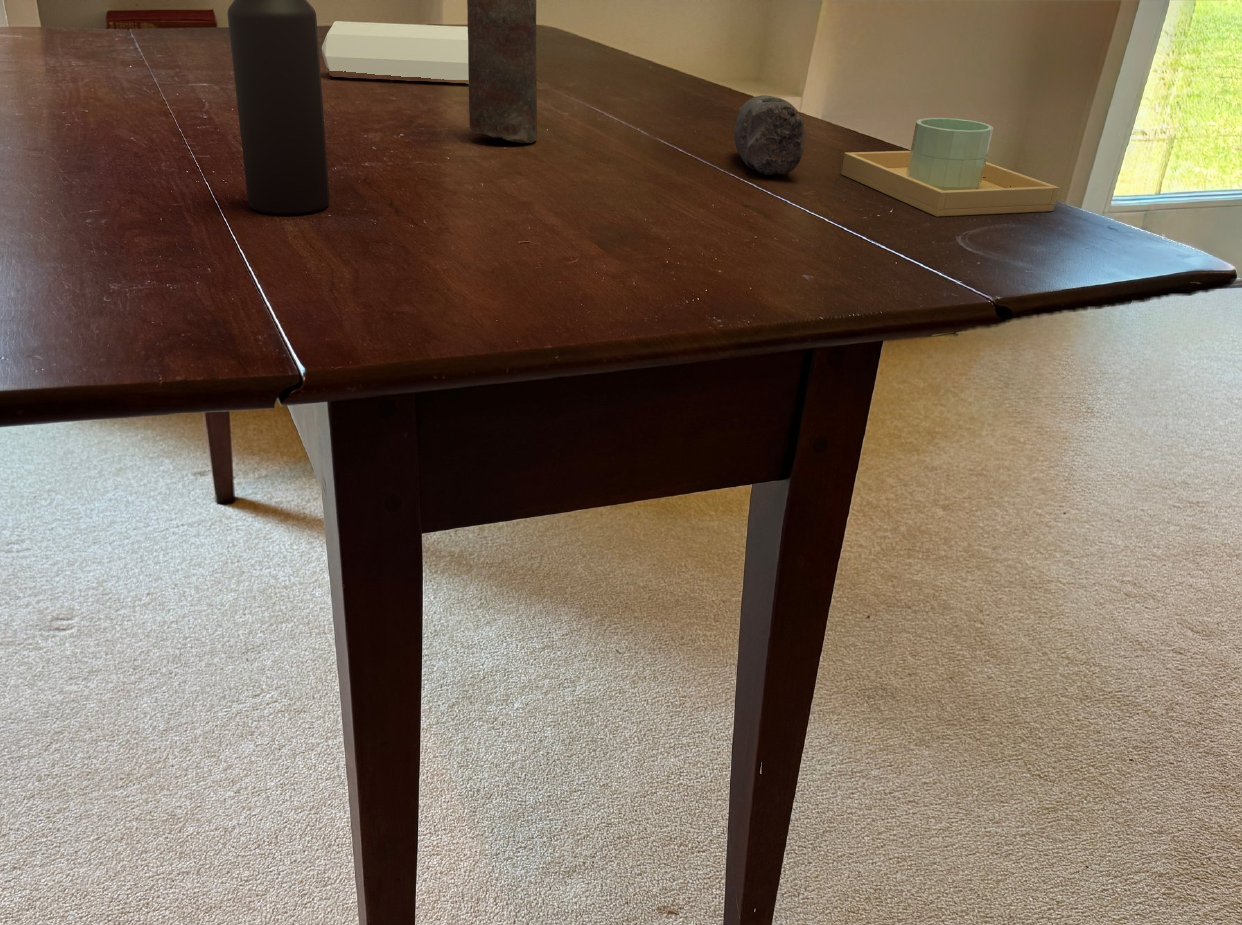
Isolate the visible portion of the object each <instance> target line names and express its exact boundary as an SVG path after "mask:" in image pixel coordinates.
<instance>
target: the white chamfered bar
mask: <svg viewBox="0 0 1242 925" xmlns="http://www.w3.org/2000/svg"><path fill="white" fill-rule="evenodd" d="M321 54H322V58H323V61H324V65H325V67H327V68H328V69H329V71H343V72H344V71H346V72H356V73H367V74H375V75H391V76H401V77H421V78H431V79H441V80H442V79H444V80H469V76H468V26H457V25H456V26H455V25H435V24H412V23H408V24H407V23H389V22H368V21H367V22H366V21H365V22H363V21H344V20H343V21H342V20H341V21H339V20H335V21H334V22H333V23H332V26H331V27H330V28H329V30H328V32H327V33H326V36H325V38H324V41H323V43H322V46H321ZM327 68H326V69H327Z"/></svg>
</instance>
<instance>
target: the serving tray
mask: <svg viewBox="0 0 1242 925" xmlns="http://www.w3.org/2000/svg"><path fill="white" fill-rule="evenodd" d="M910 152H911V150H894V151H893V150H891V151H890V150H889V151H861V152H860V151H859V152H844V154H843V161H842V167H841V175H842V176H844V177H847V178H849V179H851V180H854V181H856V182H857V183H860V184H862V185H865V186H867V187H869V188H871V189H874V190H875V191H878V192H880V193H883V194H885V195H886V196H890V197H892V198H894V199H895V200H898V201H901V202H903V203H905V204H907V205H909V206H912V207H914V208H917V209H919V210H921V211H923V212H925V213H927V214H930V215H932V216H934V217H938V218H939V217H955V216H957V217H959V216H977V215H978V216H979V215H997V214H1020V213H1021V214H1023V213H1041V212H1053V211H1054V210H1055V207H1056V204H1057V200H1058V196H1059V192H1060V186H1056V185H1054V184H1051V183H1048V182H1044V181H1042V180H1039V179H1036V178H1034V177H1031V176H1027V175H1025V174H1022V173H1019V172H1016V171H1013V170H1010V169H1008V168H1005V167H1002V166H999V165H996V164H993V163H990V162H987V161H986V164H985V168H984V173H983V177H986V178H983V177H982V182H981V184H980V185H979V186H977V189H972V190H948V191H943V190H940V189H938V188H935V187H933V186H930V185H928V184H926V183H923V182H921V181H918V180H916V179H913V178H911V177H908V176H906V173H907V168H908V162H909V157H910ZM1010 186H1011V187H1010Z"/></svg>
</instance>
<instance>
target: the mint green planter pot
mask: <svg viewBox="0 0 1242 925" xmlns="http://www.w3.org/2000/svg"><path fill="white" fill-rule="evenodd" d="M993 133H994V126H992V125H991V124H988V123H985V122H982V121H976V120H970V119H962V118H953V117H952V118H951V117H927V118H920V119H918V120H916V121H915V125H914V131H913V136H912V142H911V147H910V151H911V152H910V157H909V162H908V168H907V173H906V176H908V177H911V178H913V179H916V180H918V181H921V182H923V183H926V184H928V185H930V186H933V187H935V188H938V189H940V190H943V191H948V190H972V189H977V186H979V185H980V184H981V182H982V177H983V173H984V168H985V164H986V162H987V159H988V156H989V150H990V146H991V142H992V136H993Z"/></svg>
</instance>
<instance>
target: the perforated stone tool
mask: <svg viewBox="0 0 1242 925" xmlns="http://www.w3.org/2000/svg"><path fill="white" fill-rule="evenodd" d="M733 134H734V138H733V139H734V144H735V148H736V151H737V153H738V156H740V158H741V160H742V161H743V162H744V164H745V165H746V167H748V168H749V169H751V170H753V171H755V170H756V171H757V172H758V173H760V174H763V175H769V176H772V175H787V174H789V173H790V172H793V171H794V170H795V169H796V168H797V167H798V165H799V164H800V162H801V160H802V158H803V154H804V151H805V150H804V149H805V142H806V131H805V123H804V119H803V117H802V115H801V114H800V112H799V111H798V109H797V108H796V107H795V106H794V105H793V104H791V103H790V102H789V101H788V100H785V99H783V98H781V97H777V96H772V95H766V94H765V95H757V96H754V97H751V98H750V99H748V100H747V101H745V103H743V105H742V106H741V108H740V109H739V111H738V114H737V116H736V120H735V123H734V130H733Z"/></svg>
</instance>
